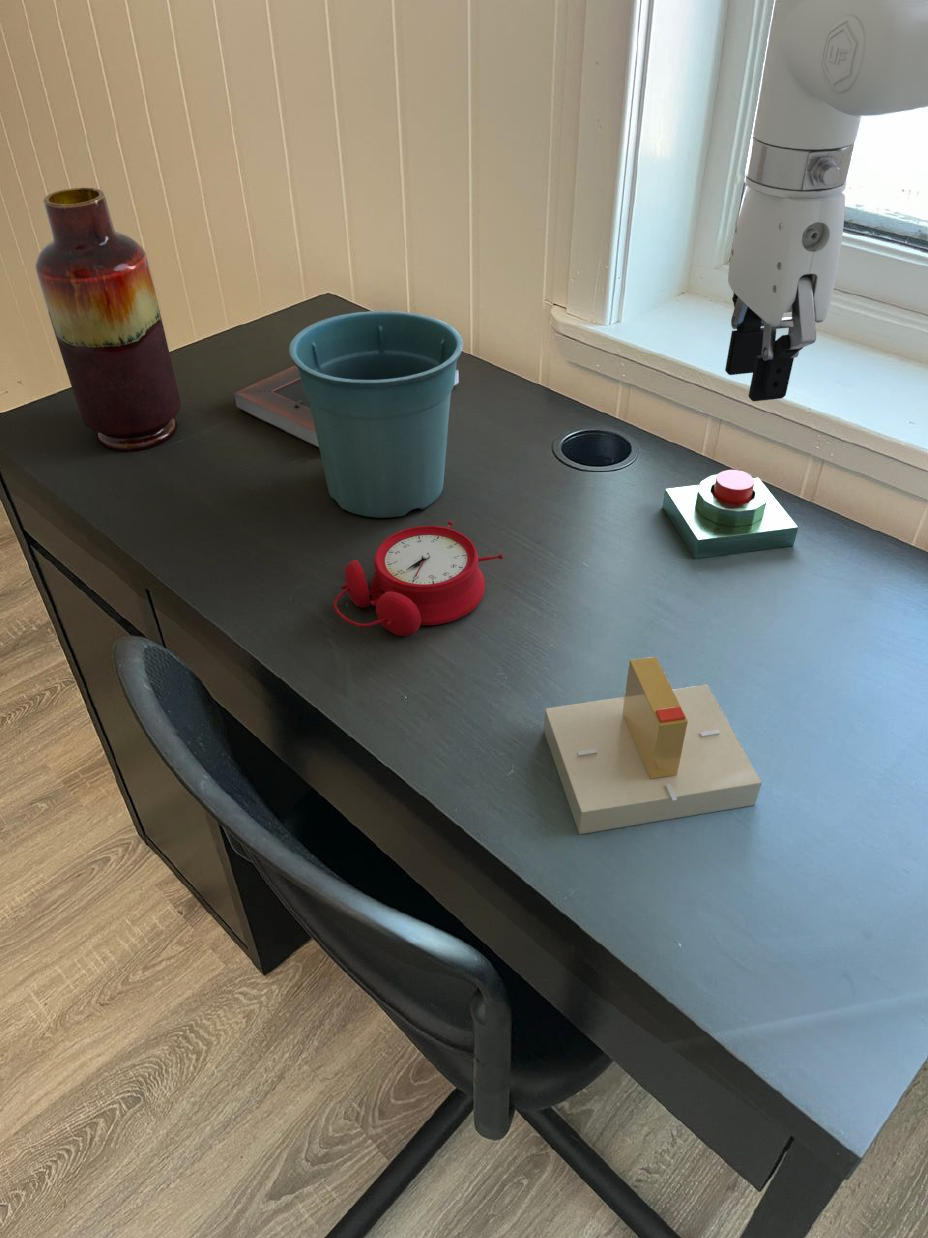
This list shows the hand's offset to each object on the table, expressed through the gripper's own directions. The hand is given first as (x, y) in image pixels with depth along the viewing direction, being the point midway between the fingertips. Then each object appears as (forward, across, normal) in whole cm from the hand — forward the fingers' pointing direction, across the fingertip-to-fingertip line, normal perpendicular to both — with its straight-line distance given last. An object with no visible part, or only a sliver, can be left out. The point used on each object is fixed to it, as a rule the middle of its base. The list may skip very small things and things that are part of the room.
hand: (754, 383), depth 84 cm
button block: (+15, 0, 0) cm, 15 cm away
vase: (+16, +32, +59) cm, 69 cm away
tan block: (+13, -28, +18) cm, 36 cm away
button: (+12, 0, 0) cm, 12 cm away
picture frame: (+16, +35, +34) cm, 51 cm away
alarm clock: (+16, -5, +32) cm, 36 cm away
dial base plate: (+15, -28, +18) cm, 37 cm away
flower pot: (+16, +14, +32) cm, 38 cm away
